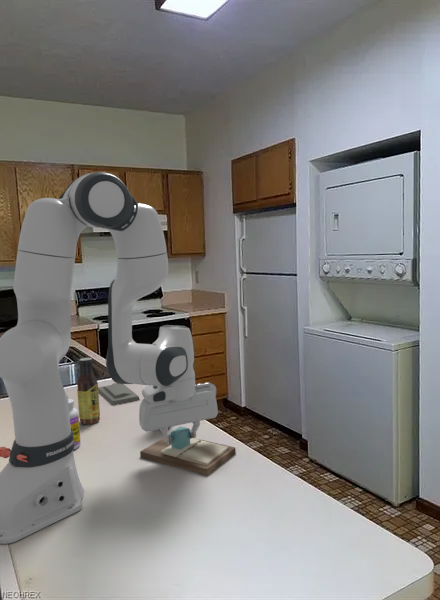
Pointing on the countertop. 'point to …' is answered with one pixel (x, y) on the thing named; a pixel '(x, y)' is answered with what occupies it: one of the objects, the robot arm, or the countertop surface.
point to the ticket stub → (180, 442)
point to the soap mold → (117, 394)
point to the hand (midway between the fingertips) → (180, 440)
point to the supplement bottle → (74, 423)
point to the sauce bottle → (88, 393)
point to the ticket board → (191, 456)
